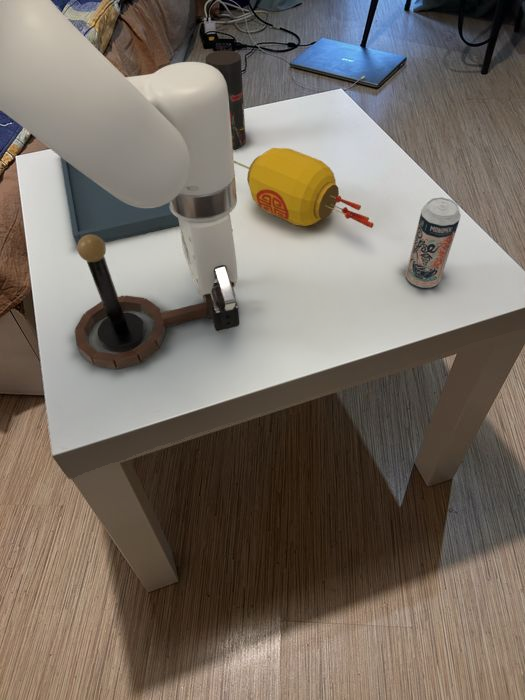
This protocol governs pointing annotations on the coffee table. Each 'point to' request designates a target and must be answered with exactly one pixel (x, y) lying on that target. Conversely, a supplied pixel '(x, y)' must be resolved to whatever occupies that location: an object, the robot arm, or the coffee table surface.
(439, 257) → the beer can
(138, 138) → the robot arm
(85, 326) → the brown ring with handle
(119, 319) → the black post with ball
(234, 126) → the deodorant
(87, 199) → the tray
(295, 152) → the lantern
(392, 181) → the coffee table surface
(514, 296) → the coffee table surface
